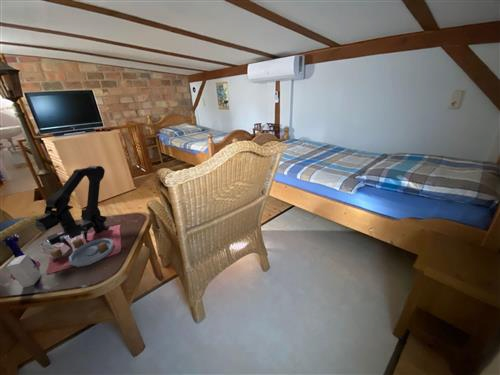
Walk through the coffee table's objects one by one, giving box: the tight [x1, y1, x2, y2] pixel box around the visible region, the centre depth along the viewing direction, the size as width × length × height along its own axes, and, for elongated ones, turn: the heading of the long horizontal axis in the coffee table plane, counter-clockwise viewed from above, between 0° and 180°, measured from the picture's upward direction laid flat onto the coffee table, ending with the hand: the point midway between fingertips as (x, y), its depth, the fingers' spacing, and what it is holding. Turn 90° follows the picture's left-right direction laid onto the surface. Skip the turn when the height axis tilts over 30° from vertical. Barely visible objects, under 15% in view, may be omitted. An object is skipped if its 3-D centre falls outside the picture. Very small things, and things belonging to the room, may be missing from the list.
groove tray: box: [68, 237, 115, 268], centre depth 104 cm, size 18×18×3 cm
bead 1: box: [49, 248, 64, 260], centre depth 104 cm, size 4×4×4 cm
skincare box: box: [6, 254, 42, 288], centre depth 88 cm, size 6×4×12 cm
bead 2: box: [72, 238, 84, 248], centre depth 111 cm, size 4×4×4 cm
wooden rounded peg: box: [97, 242, 108, 253], centre depth 104 cm, size 4×4×4 cm
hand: (79, 244), depth 111 cm, fingers open, 6 cm apart
